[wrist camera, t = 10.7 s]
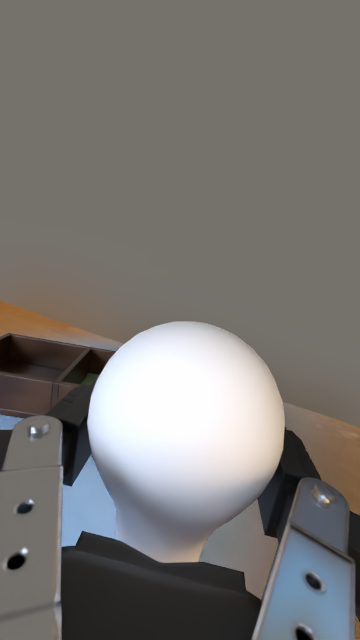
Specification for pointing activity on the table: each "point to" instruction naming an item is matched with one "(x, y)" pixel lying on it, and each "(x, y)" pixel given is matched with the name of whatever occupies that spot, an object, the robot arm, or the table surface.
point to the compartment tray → (43, 372)
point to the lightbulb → (183, 435)
